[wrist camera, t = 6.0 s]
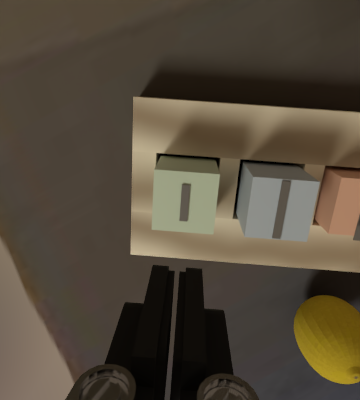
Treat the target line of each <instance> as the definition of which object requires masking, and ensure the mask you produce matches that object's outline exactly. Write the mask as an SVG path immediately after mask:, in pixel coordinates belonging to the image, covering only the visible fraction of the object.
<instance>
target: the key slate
mask: <svg viewBox="0 0 360 400" xmlns="http://www.w3.org/2000/svg"><path fill="white" fill-rule="evenodd" d="M319 184H320V181H318V180H317V179H315V178H314V177H313V176H311V175H310V174H308V173H307V172H306V171H304V170H303V169H301V168H300V167H299V166H296V165H282V164H268V163H255V162H242V170H241V177H240V185H239V192H238V200H237V208H236V214H237V217H238V220H239V223H240V226H241V229H242V231H243V234H244V237H251V238H264V239H277V240H290V241H302V242H307V239H308V234H309V230H310V225H311V221H312V216H313V212H314V207H315V202H316V198H317V193H318V189H319Z"/></svg>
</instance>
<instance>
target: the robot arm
mask: <svg viewBox="0 0 360 400" xmlns="http://www.w3.org/2000/svg"><path fill="white" fill-rule="evenodd" d="M174 273H175V271H169V266H159V265H153V267H152V271H151V275H150V279H149V284H148V288H147V292H146V296H145V301H144V304H142V303H129V302H126V303H125V304H124V306H123V309H122V312H121V316H120V319H119V322H118V325H117V328H116V331H115V334H114V337H113V340H112V343H111V346H110V349H109V352H108V355H107V358H106V361H105V364H104V365H98V366H96V367H93V368H91V369H89V370H88V371H86V372H85V373H84V374H82V375H81V376H80V377H79V379H78V380H77V381H76V382H75V384H74V386H73V388H72V389H71V391H70V393H69V394H68V396H67V398H66V399H65V400H164V397H165V387H166V376H167V365H168V355H169V344H170V331H171V317H172V302H173V288H174ZM170 400H259V398H258V396H257V394H256V393H255V391H254V389H253V388H252V387H251V386H250V385H249V384H248V383H247V382H245V381H244V380H242V379H241V378H239V377H237V376H234V375H233V368H232V362H231V355H230V348H229V341H228V334H227V327H226V320H225V314H224V311H223V310H216V309H204V296H203V277H202V269H197V268H186V272H181V271H180V274H179V287H178V301H177V314H176V327H175V340H174V354H173V367H172V380H171V394H170Z"/></svg>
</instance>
